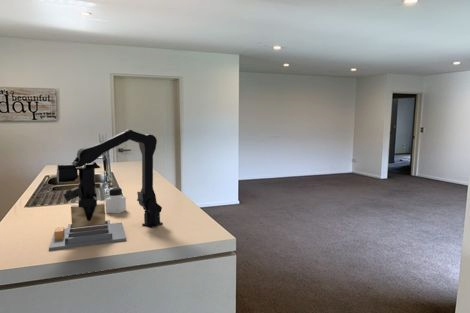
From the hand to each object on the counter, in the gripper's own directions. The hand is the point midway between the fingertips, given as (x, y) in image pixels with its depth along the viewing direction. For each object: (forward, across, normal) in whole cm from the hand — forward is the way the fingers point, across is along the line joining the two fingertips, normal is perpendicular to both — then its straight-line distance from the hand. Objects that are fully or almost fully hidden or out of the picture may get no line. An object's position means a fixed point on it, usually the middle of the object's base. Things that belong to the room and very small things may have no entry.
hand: (89, 219), depth 132 cm
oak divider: (+2, 0, 0) cm, 2 cm away
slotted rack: (+7, 0, 0) cm, 7 cm away
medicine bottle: (+7, -35, +12) cm, 38 cm away
